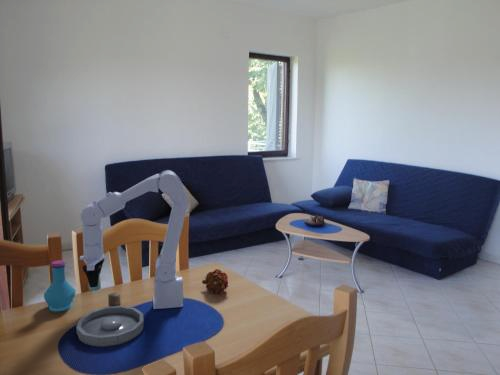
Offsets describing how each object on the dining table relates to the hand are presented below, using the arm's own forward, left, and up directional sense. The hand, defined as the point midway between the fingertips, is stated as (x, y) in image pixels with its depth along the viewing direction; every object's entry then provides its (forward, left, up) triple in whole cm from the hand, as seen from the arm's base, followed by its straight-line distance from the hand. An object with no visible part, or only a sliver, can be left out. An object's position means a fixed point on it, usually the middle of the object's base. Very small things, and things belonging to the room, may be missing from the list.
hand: (94, 284), depth 128 cm
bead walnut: (-6, +2, -8) cm, 10 cm away
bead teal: (0, 0, -2) cm, 2 cm away
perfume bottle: (+11, -4, -9) cm, 14 cm away
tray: (-6, +14, -8) cm, 18 cm away
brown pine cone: (-40, -7, -9) cm, 41 cm away
